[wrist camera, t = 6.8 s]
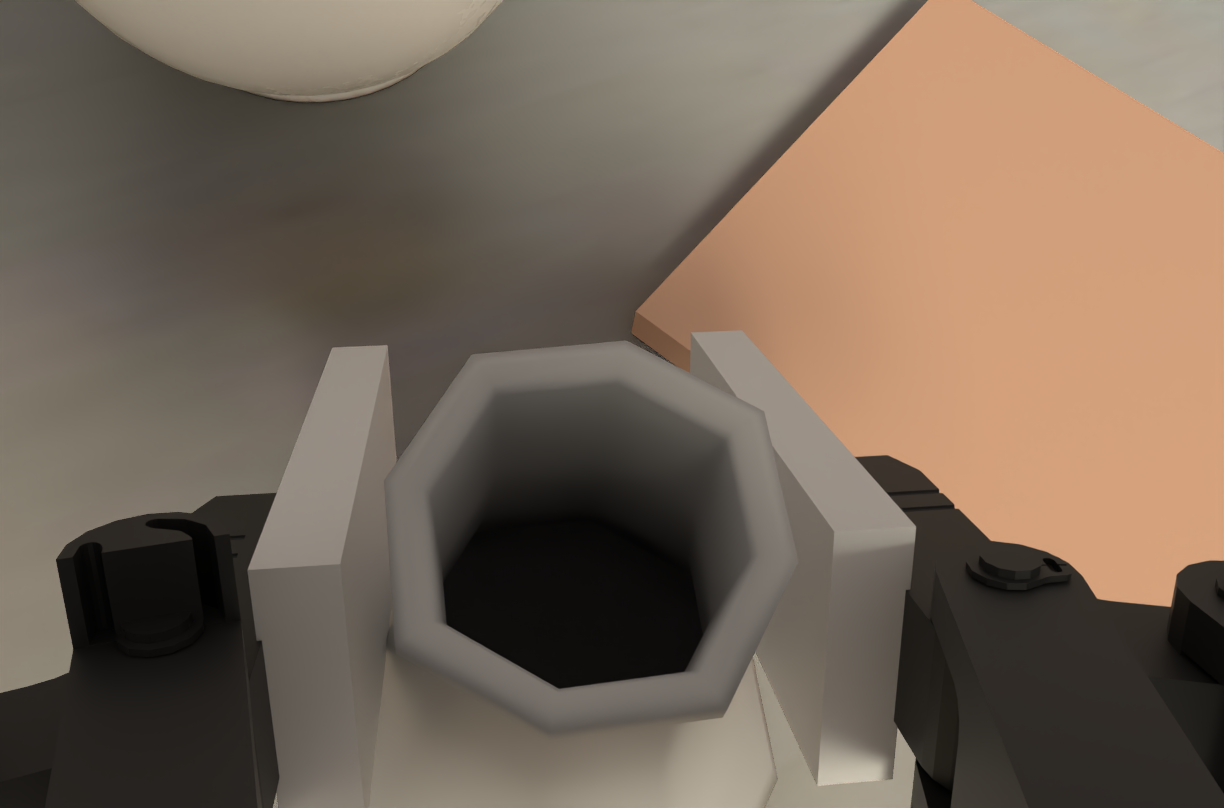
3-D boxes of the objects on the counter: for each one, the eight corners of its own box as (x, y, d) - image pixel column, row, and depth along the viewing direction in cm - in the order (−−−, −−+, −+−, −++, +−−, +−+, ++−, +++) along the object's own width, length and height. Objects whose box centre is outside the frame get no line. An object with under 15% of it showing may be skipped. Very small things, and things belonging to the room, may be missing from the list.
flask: (746, 1044, 16) (1068, 1183, 7) (246, 946, 16) (-102, 957, 7) (795, 562, 19) (1059, 223, 10) (379, 481, 19) (267, 68, 10)
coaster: (630, 332, 21) (635, 310, 20) (931, 11, 25) (944, -17, 24) (1153, 717, 18) (1179, 707, 18) (1384, 289, 23) (1413, 268, 22)
